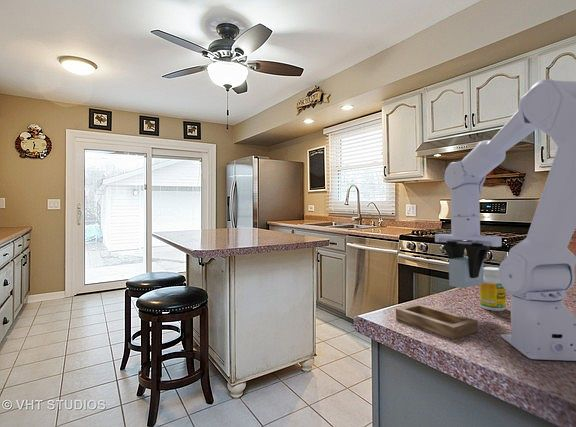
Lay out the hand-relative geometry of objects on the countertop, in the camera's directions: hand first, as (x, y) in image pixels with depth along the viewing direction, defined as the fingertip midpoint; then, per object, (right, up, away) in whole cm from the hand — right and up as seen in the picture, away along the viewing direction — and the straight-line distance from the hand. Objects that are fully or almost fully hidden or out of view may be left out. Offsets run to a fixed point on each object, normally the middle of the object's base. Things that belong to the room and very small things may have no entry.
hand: (466, 276), depth 74 cm
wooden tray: (-10, -9, -6) cm, 14 cm away
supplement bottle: (+9, -9, +5) cm, 14 cm away
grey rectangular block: (0, -2, 0) cm, 2 cm away
